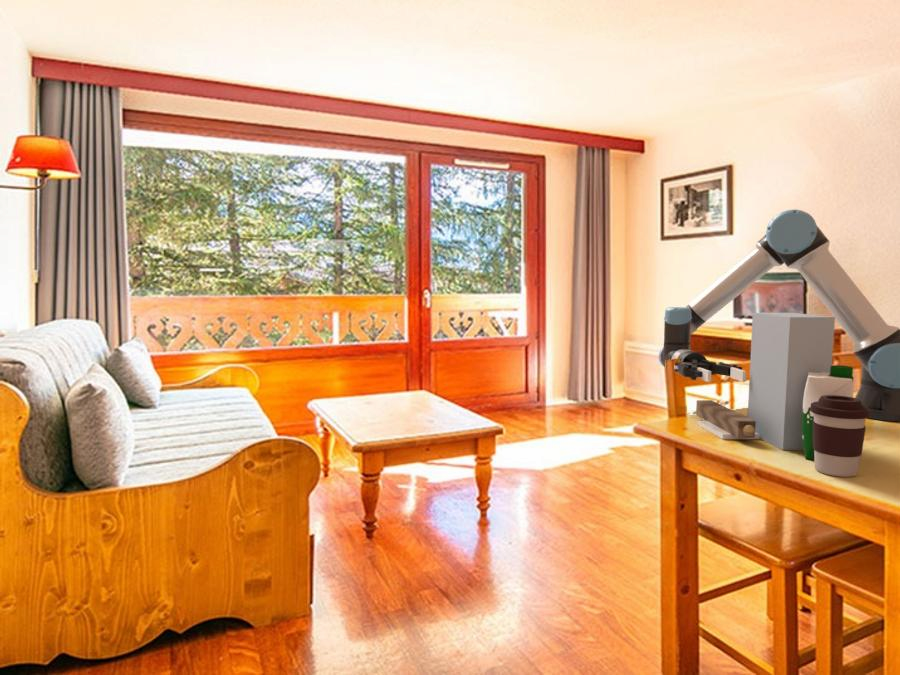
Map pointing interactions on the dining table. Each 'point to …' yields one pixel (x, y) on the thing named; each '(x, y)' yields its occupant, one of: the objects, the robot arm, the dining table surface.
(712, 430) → the plate
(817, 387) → the milk carton
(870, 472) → the dining table surface
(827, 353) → the stand
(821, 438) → the coffee cup
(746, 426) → the pepper mill
